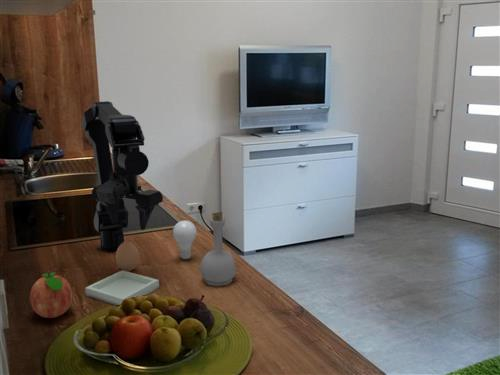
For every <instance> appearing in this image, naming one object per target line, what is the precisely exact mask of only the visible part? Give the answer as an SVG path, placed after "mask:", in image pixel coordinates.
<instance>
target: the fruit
mask: <svg viewBox="0 0 500 375" xmlns="http://www.w3.org/2000/svg"><path fill="white" fill-rule="evenodd" d="M41 276H42V277H40V278H39V279H37V280H36V281H35V282H34V284H33V285H32V287H31V290H30V295H29V303H30V306H31V308H32V310H33V311H34V312H35V313H36V314H37V315H38V316H40V317H42V318H45V319H54V318H57V317H60V316H62V315H63V314H65V313H66V312H67V311H68V310H69V308H70V306H71V305H72V302H73V297H74V296H73V289H72V287H71V284H70V283H69V282H68V280H67V279H66V278H64V277H62V276H60V275H58V274H57V272H51V271H49V270H48V271H47V273H46V272H45V273H43V274H41Z"/></svg>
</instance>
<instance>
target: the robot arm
mask: <svg viewBox="0 0 500 375" xmlns="http://www.w3.org/2000/svg"><path fill="white" fill-rule="evenodd" d="M81 128H82V131H83V132H84V133H85V135H84V136H85V137H86V139H87V140H88V141H87V142H89V143H90V144H91V145H92V148H93V153H94V154H93V155H94V160H95V169H96V174H97V175H96V176H97V181H98V185H96V186H95V185H94V187H93V188H92V189H91V197H92V199H95V201H97V203H96V211H95V214H94V218H93V225H94V229H95V230H96V231H97V233H99V241H100V245H99V246H97V247H96V250H99V251H103V252H107V253H110V254H111V253H116V252H117V249H118V247H119V246H120V245H121V244H122V243H124V242H125V237H124V236H125V235H124V231H123V229H125V228H126V229H127V228H128V225H129V224H128V222H129V215H130V214H129V213H130V212H129V210H128V209H127V207H126V206H125V200H124V199H129V200H130V199H131V200H135V203H136V206H135V205H134V206H135V208H136V209H137V211H138V217H139V226H140V230H141V231H144V230H145V229H146V226H147V225H148V221H149V219H150V218H151V215H152V213H153V211H154V209H155V207H156V206H157V205H159V204H160V203H162V202H163V201H164V200H163V199H164V198H163V194H162V192H161V191H160V190H155V189H146V190H144V191H141V190H142V186H141V185H138V176H140V175H142V174H144V173H145V172H146V171H147V169H148V168H149V159H148V157H147V155H146V153H144V152H143V151H141V150H140V146H141V147H142V146H143V147H144V146H145V136H144V133H143V130H142V127H141V124H140V122H139V121H138V120H137V119H136V117H135V116H134V115H129V114H122V113H121V112H120V111H119V110H118V109H116V107H114V105H113V103H112V101H108V100H107V101H106V100H105V101H95V102H93V103H92V105H91V107H90V108H89V109H87V110H86V111H84V112H83V114H82V118H81ZM139 191H141V192H139Z"/></svg>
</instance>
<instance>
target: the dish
mask: <svg viewBox="0 0 500 375" xmlns="http://www.w3.org/2000/svg"><path fill="white" fill-rule="evenodd" d="M159 288H160V281H159V279H156V278H153V277H149V276H145V275H141V274H137V273H134V272H131V271H123V270H120V271H117V272H115V273H114V274H112V275H109V276H107V277H105V278H103V279H101V280H99V281H96V282H95V283H92V284H90V285H88V286H85V287H84V289H85V296H86V297H88V298H93V299H95V300H98V301H102V302H105V303H108V304H111V305H113V306H117V305H119V304H121V303H122V301H123V300H125V299H128V298H131V297H136V296H142V295H145V296H147V295H149V294H151V293H152V292H154V291H156V290H157V289H159Z"/></svg>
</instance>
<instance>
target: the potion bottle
mask: <svg viewBox="0 0 500 375" xmlns="http://www.w3.org/2000/svg"><path fill="white" fill-rule="evenodd" d="M209 224H210V226H211V228H212V230H213V232H212V234H213V235H212V236H213V250H211V251H207V253H205V255H204V257H203V259H202V260H201V264H200V267H199V271H200V272H201V277H202V278H204V282H205V283H206V284H207V285H209V286H212V287H213V286H214V287H222V286H227V285H229V284H231V283H232V282H233V278H235V276H236V275H235V274H236V273H237V268H236V264H235V260H234V257H233V254H232V253H231V252H230V251H228V250H224V249H223V228H224V226H225V224H226V219H225V217H223V211H221V212H220V211H219V212H213V213H211V218H210V219H209Z"/></svg>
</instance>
